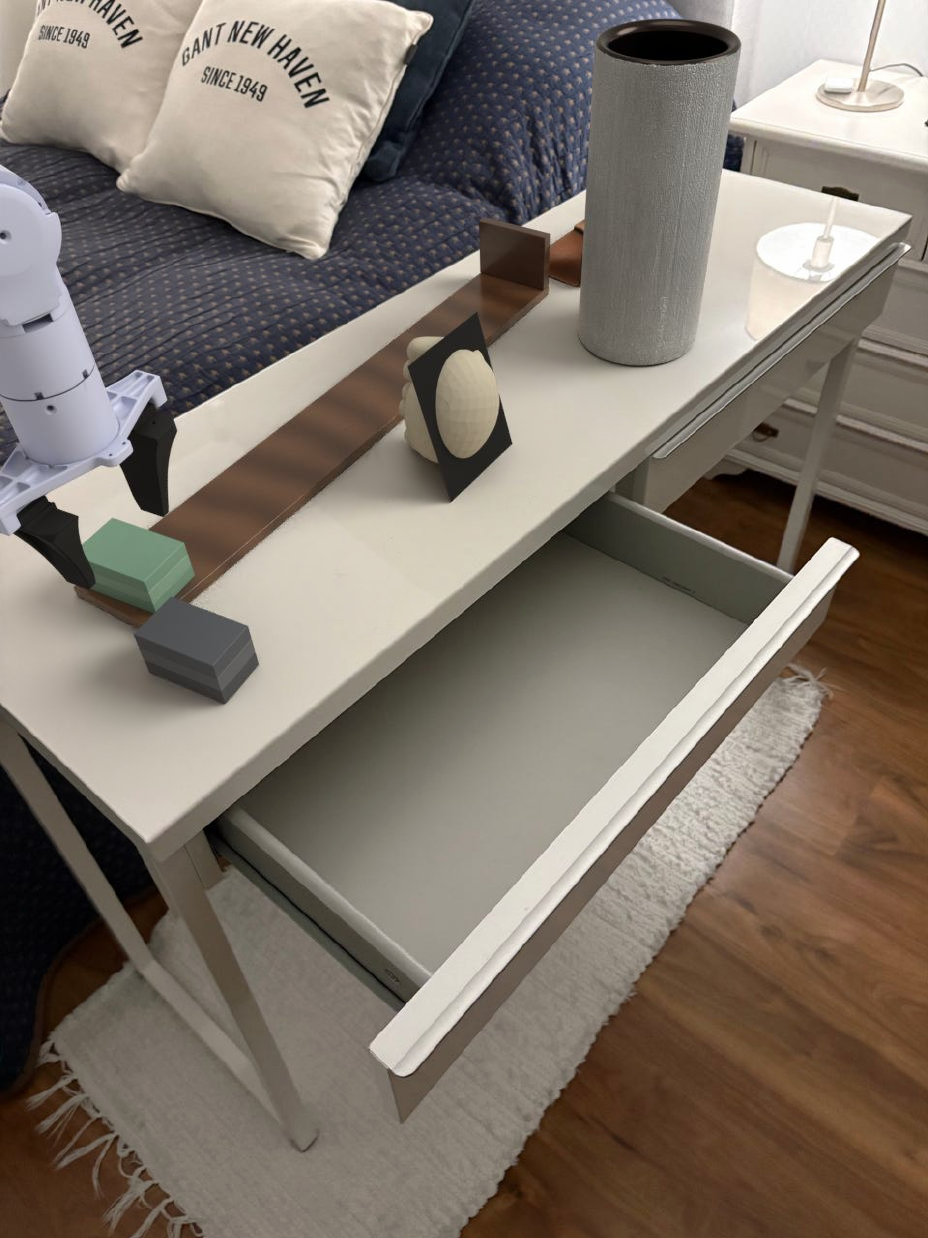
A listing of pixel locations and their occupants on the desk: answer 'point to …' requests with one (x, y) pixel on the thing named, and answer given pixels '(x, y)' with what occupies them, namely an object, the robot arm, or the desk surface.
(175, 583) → the green flat block
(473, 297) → the book ledge
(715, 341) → the desk surface
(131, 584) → the sage book
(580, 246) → the sunglasses case
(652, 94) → the planter
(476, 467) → the decorative object
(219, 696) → the grey books
